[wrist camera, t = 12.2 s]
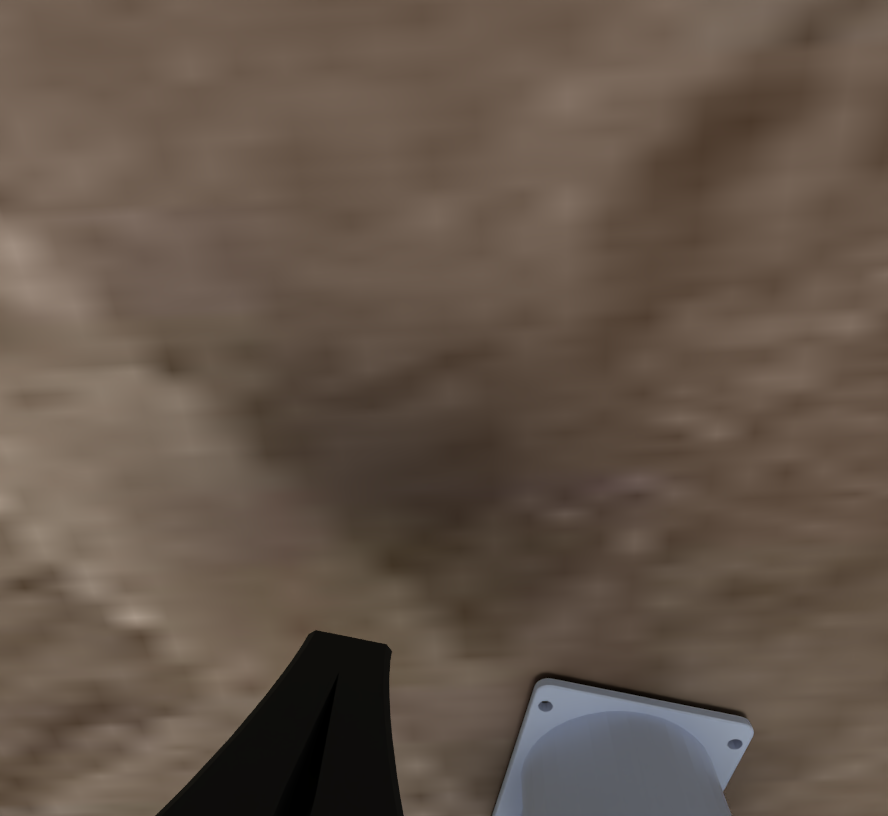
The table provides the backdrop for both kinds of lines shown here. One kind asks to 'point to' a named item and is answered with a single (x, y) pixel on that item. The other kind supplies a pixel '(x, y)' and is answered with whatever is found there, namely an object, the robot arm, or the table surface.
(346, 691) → the robot arm
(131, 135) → the table surface
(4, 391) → the table surface
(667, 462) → the table surface
